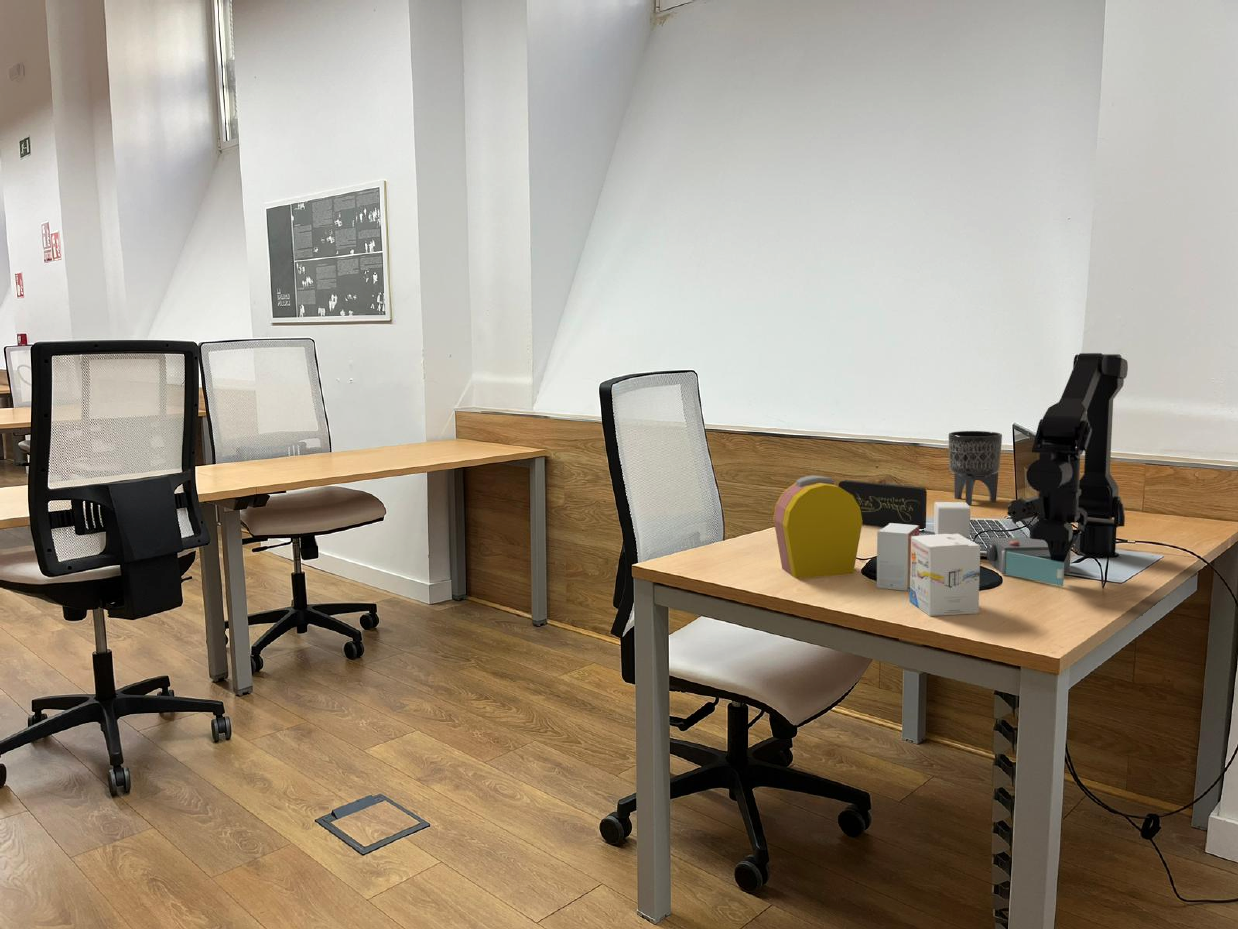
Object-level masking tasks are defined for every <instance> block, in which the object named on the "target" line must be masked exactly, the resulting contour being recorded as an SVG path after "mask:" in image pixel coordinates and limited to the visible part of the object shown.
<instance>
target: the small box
mask: <svg viewBox="0 0 1238 929" xmlns="http://www.w3.org/2000/svg"><path fill="white" fill-rule="evenodd" d="M876 533H877V534H876V536H877V539H876V544H877V545H876V588H877V589H888V590H894V591H902V592H903V591H904V592H908V591H910V574H911V537H912V536H920V532H919V526H918V525H907V524H896V523H889V524H888V525H887V526H886V527H882V528H881V529H880V530H877V532H876Z"/></svg>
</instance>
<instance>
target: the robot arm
mask: <svg viewBox="0 0 1238 929" xmlns="http://www.w3.org/2000/svg"><path fill="white" fill-rule="evenodd" d="M1072 363H1073V364H1072V371H1071V373H1070V376H1069V378H1068V380H1067V383H1066V385H1065V387H1064V389H1063V391H1062V395H1061V397H1060V399H1059V401H1058V402H1057V403H1055V404H1052V405H1051V406H1049V407H1048V408H1047V410H1046V411H1045V413H1044V414H1043V417H1042V418H1041V419H1040V420H1039V422H1038V426H1037V428H1036V432H1035V436H1034V440H1033V445H1032V448H1031V453H1032V454H1039V458H1038V459H1036V460H1035V461H1033V462H1032V463H1031V464H1029V466H1028V467H1027V471H1026V474H1025V475H1026V480H1027V483H1028V484H1029V486H1030V487H1031V488H1032V489H1033V490H1035V491H1036V492H1038V495H1037V496H1034V497H1033V496H1032V497H1029V498H1028V497H1027V498H1023V497H1019V498H1017V499H1012V500H1011V501H1010V503H1009V504H1008V505H1007V506H1006V507H1007V512H1006V514H1007V515H1008V516H1009V517H1010V519H1011V522H1012V523H1019V522H1021V520H1026V519H1030V518H1034V517H1036V519H1037V521H1036V522H1035V523H1034V524H1032V525H1031V526H1030V527H1029V537H1030V538H1031V539H1038V540H1044V541H1046V543H1047V545H1048V548H1049V552H1050V557H1051V560H1055V561H1060V562H1064V563H1065V561H1066V559H1067V557H1068V555H1069V553H1070V551H1072V550H1073V551H1074V552H1077V553H1078V554H1080V555H1081V556H1084V557H1087V558H1102V557H1103V558H1104V557H1108V556H1110V557H1112V558H1113V557H1120V553H1119V552H1116V549H1117V548H1116V546H1117V530H1118V529H1117V528H1120V527H1121V528H1122V527H1125V526H1126V525H1125V522H1126V515H1125V509H1124V504H1123V502H1122V498H1121V497H1120V496H1119V486H1118V484H1117V482H1116V481H1115V480H1114V478H1113V476H1112V475H1111V458H1112V457H1111V454H1112V435H1113V434H1112V432H1113V415H1114V414H1113V412H1114V411H1113V410H1114V400H1115V398H1116V396H1118V394H1119V392H1121V390H1122V388H1123V387H1124V382H1125V379H1126V378H1127V376H1128V370H1129V368H1128V367H1129V366H1128V365H1129V364H1128V360H1127V359H1125V358H1123V357H1122V355H1121V354H1119V353H1116V354H1115V353H1114V354H1110V353H1105V354H1103V353H1101V352H1087V353H1086V352H1080V353H1079V354H1075V356H1074V357H1073V362H1072ZM1083 452H1084V463H1083V464H1084V466H1083V468H1084V469H1083V475H1082V477H1081V478H1080V474H1081V456H1082V455H1083ZM1075 523H1076V524H1077V529H1074V527H1073V524H1075Z"/></svg>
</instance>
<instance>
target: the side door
mask: <svg viewBox="0 0 1238 929" xmlns="http://www.w3.org/2000/svg"><path fill="white" fill-rule="evenodd" d="M1000 572H1001V571H1000ZM1001 575H1003V576H1004V575H1007V576H1012V577H1017V578H1021V579H1022V578H1023V579H1027V580H1030V581H1031V580H1032V581H1035V582H1041V583H1046V584H1050V585H1056V586H1060V587H1063V586H1064V579H1065V577H1064V575H1065V573H1064V562H1060V561H1055V560H1049V559H1044V558H1039V557H1033V556H1028V555H1023V554H1017V553H1012V552H1007V551H1005V550H1003V551H1002V572H1001Z"/></svg>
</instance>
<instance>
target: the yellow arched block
mask: <svg viewBox="0 0 1238 929" xmlns="http://www.w3.org/2000/svg"><path fill="white" fill-rule="evenodd" d="M838 486H839V485H836V484H835V480H834V479H833V478H830V477H827V476H824V475H813V474H811V475H806V476H802V477H800V478H798V479H796V480H795V482H794V483H793V484H792V485H790V486H789V487H788V488H785V490H784V491H782V493H781V495H780V497H779V498H778V500H777V502H776V503H775V506H774V512H773V517H772V518H773V519H772V521H773V524H774V529H775V535H776V542H777V548H778V553H779V558H780V563H781V569H782V570H784V571H785V572H786V573H788V574H789V575H791V577H793V578H794V579H796V580H797V579H811V578H822V577H825V578H826V577H835V576H849V575H850V576H851V575H854V571H855V566H856V562H857V555H858V551H859V545H860V544H859V543H860V538H861V532H862V527H863V525H862V516H861V511H860V507H859V505H858V504H857V502H856V500H855V499H854V497H853V496H852V495H851V494H850V493H848V492H846V491H845V490H843V489H842V488H840V487H838Z"/></svg>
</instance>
